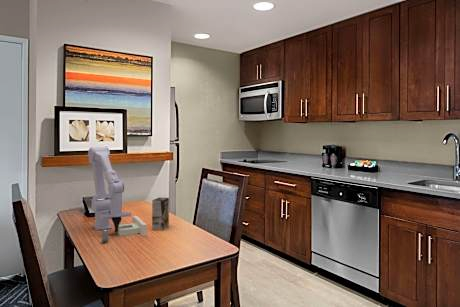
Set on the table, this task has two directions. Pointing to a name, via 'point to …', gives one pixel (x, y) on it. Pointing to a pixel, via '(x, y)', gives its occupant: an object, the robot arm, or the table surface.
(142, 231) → the board
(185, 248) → the table surface
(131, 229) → the socket block
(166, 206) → the coffee box
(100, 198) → the robot arm
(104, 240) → the dowel
